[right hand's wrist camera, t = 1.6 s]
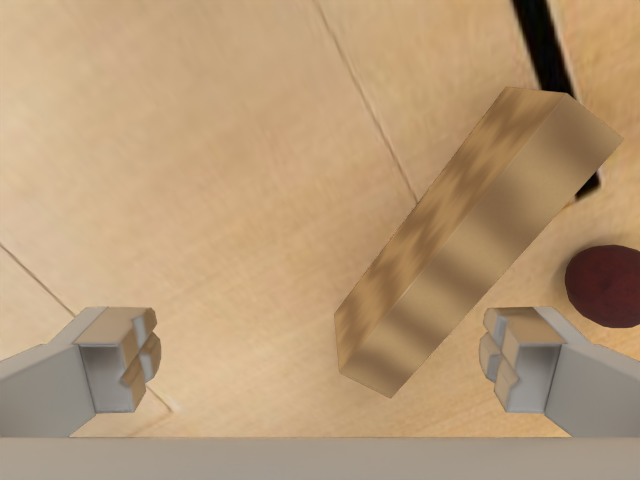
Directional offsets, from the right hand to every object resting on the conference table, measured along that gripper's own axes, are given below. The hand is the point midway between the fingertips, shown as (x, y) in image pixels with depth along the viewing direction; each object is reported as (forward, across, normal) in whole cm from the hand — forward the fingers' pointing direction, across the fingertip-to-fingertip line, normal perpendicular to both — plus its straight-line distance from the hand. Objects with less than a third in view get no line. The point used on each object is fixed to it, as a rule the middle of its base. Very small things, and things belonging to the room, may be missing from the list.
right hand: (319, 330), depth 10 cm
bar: (+28, +11, -7) cm, 31 cm away
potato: (+28, +26, -11) cm, 40 cm away
